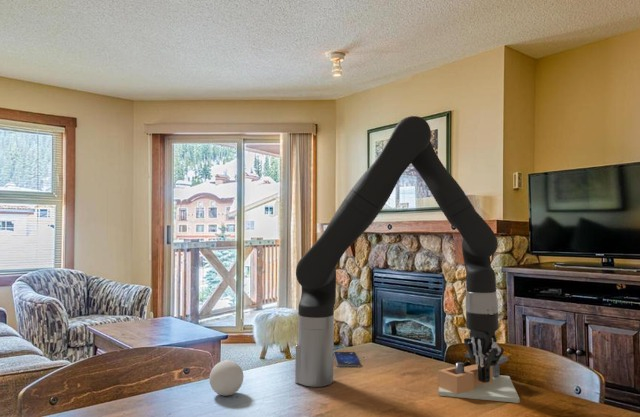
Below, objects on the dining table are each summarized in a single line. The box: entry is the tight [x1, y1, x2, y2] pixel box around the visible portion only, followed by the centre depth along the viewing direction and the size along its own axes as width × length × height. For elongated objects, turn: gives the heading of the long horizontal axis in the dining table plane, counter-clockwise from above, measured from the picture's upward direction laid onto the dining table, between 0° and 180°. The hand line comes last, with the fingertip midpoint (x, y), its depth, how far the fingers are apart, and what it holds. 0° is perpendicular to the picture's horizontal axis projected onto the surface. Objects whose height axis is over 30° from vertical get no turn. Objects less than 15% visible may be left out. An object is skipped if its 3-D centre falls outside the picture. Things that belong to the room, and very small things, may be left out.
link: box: [437, 363, 493, 394], centre depth 119 cm, size 15×6×4 cm, turn 123°
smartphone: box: [333, 351, 363, 368], centre depth 144 cm, size 7×1×15 cm
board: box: [438, 375, 520, 404], centre depth 120 cm, size 18×17×1 cm
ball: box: [208, 359, 244, 397], centre depth 113 cm, size 8×8×8 cm
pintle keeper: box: [455, 351, 509, 378], centre depth 121 cm, size 13×16×7 cm
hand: (484, 381), depth 116 cm, fingers closed
